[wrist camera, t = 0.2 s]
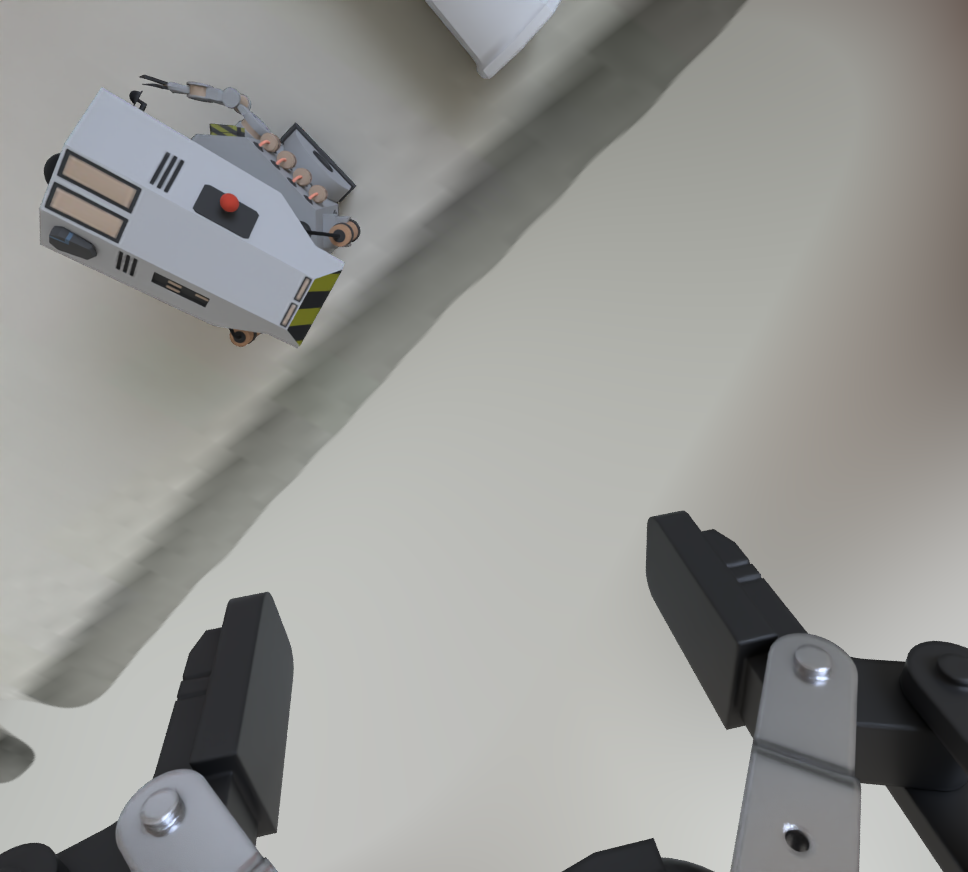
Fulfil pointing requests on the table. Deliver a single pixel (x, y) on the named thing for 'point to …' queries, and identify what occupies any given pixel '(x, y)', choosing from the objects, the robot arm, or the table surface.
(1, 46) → the table surface
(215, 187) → the figurine
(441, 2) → the tube
